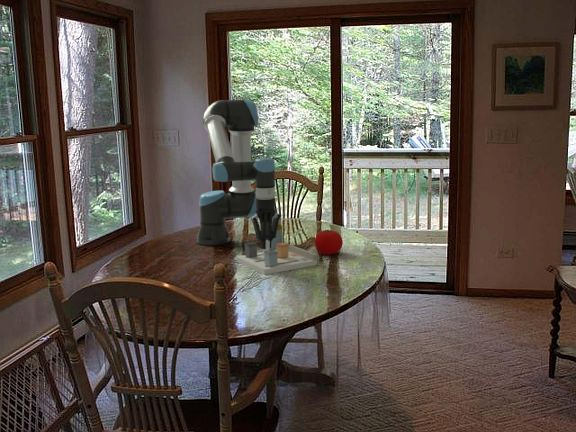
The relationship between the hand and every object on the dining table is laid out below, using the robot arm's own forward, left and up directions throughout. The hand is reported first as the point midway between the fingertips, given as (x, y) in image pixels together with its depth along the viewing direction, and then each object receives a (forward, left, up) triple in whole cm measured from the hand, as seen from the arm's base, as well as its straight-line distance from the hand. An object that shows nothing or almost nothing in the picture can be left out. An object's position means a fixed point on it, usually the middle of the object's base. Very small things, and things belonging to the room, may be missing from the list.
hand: (266, 256), depth 238 cm
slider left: (-8, -3, -1) cm, 8 cm away
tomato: (0, +30, -4) cm, 31 cm away
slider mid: (0, +7, -1) cm, 7 cm away
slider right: (+8, -3, -1) cm, 9 cm away
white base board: (0, +4, -3) cm, 6 cm away
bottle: (-18, +14, -4) cm, 23 cm away
